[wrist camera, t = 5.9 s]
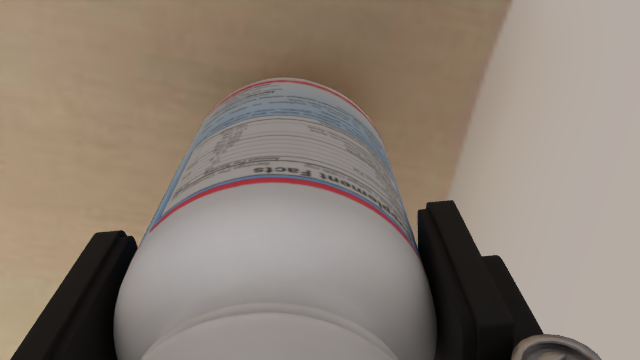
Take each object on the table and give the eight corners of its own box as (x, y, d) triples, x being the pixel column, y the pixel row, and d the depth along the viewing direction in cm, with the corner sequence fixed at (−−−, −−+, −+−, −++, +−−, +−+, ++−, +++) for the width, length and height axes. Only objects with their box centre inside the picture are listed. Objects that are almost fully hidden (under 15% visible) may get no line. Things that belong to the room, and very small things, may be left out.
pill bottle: (317, 271, 19) (326, 667, 9) (161, 187, 18) (-36, 552, 8) (424, 138, 17) (590, 463, 7) (257, 29, 15) (160, 244, 5)
